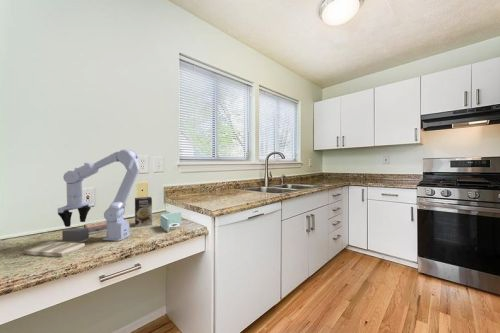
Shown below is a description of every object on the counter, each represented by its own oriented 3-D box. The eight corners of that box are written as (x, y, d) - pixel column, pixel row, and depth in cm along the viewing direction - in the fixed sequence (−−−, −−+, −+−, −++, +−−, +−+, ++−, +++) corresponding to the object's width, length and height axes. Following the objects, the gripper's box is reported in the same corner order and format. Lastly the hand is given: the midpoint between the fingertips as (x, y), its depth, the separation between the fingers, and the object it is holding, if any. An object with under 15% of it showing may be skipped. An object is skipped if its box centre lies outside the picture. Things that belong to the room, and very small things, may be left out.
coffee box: (135, 227, 124) (134, 199, 123) (134, 224, 129) (134, 197, 129) (152, 224, 128) (152, 197, 127) (151, 222, 134) (151, 196, 133)
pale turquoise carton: (167, 233, 115) (167, 219, 115) (160, 227, 124) (160, 214, 124) (188, 228, 123) (188, 215, 122) (180, 223, 132) (180, 211, 132)
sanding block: (88, 239, 105) (88, 228, 105) (79, 243, 100) (79, 231, 100) (72, 238, 106) (72, 227, 106) (62, 242, 101) (62, 230, 101)
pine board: (84, 246, 96) (84, 243, 96) (62, 256, 86) (61, 253, 86) (50, 244, 98) (50, 241, 98) (24, 254, 88) (24, 250, 88)
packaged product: (118, 217, 129) (122, 220, 121) (118, 225, 129) (122, 229, 121) (80, 223, 117) (81, 227, 109) (80, 232, 117) (81, 237, 109)
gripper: (81, 193, 110) (82, 219, 111) (51, 198, 96) (52, 228, 96) (93, 193, 109) (94, 220, 110) (65, 198, 95) (65, 229, 95)
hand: (75, 224), depth 103 cm, fingers open, 7 cm apart
